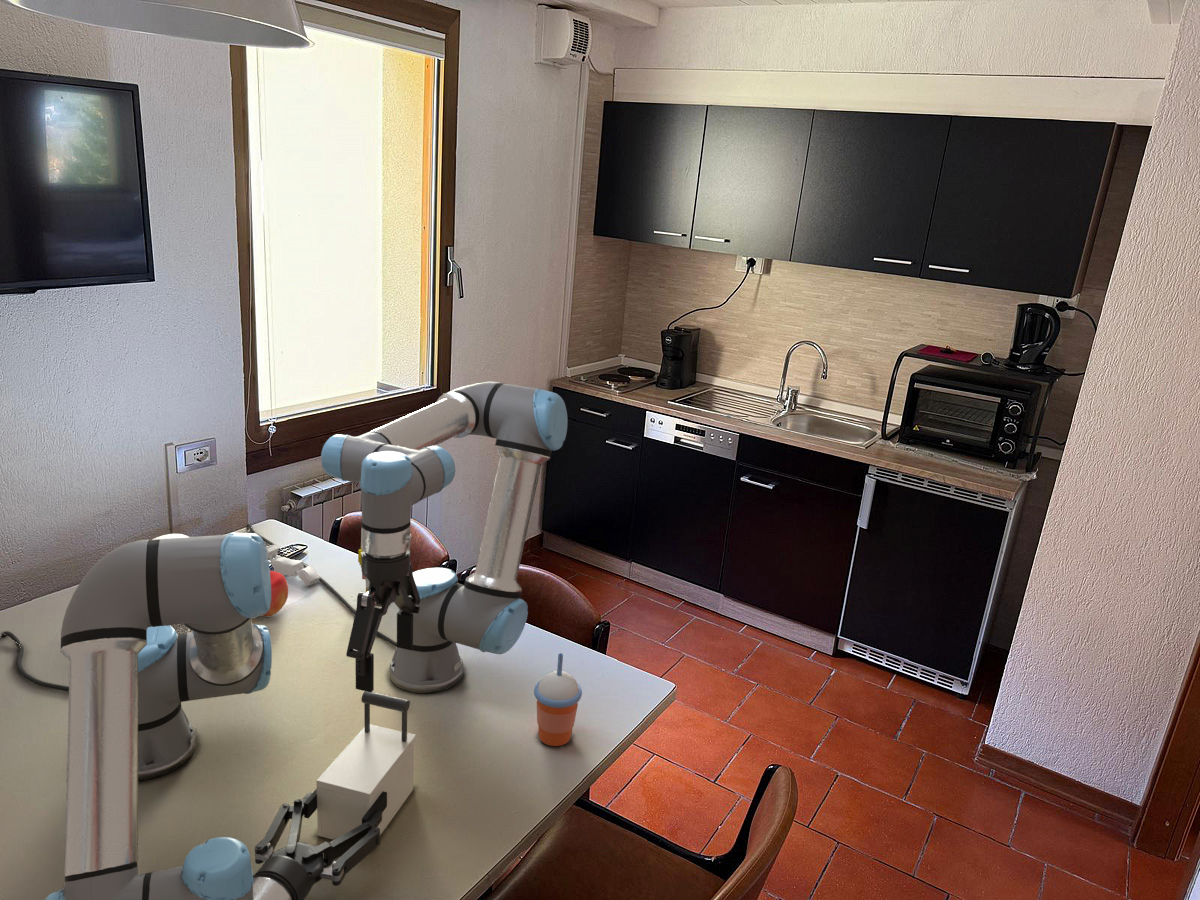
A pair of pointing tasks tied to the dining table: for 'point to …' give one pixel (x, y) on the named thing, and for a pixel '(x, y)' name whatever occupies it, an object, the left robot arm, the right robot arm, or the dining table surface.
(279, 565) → the clamp
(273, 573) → the apple
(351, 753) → the lid
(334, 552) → the dining table surface
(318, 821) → the chest
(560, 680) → the cup with straw
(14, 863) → the dining table surface
